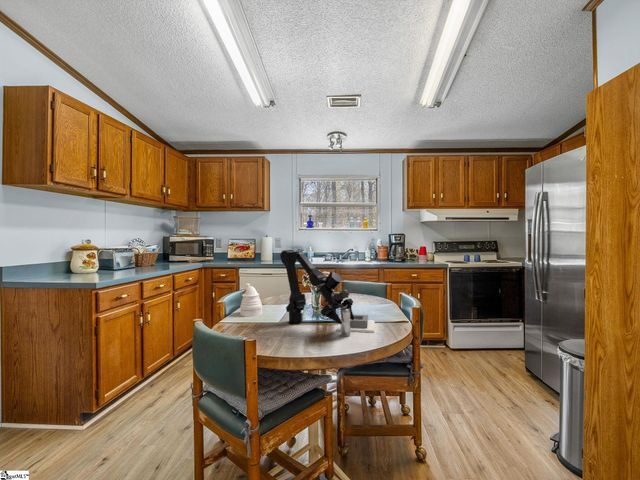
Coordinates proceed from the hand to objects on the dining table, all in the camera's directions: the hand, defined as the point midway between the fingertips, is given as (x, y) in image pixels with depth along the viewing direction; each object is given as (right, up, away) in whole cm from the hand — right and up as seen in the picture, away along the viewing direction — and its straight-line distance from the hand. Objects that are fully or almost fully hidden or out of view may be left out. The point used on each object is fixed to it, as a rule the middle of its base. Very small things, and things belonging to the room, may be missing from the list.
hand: (347, 321), depth 151 cm
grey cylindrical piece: (-1, -7, +1) cm, 7 cm away
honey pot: (-54, -6, +44) cm, 70 cm away
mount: (+6, -6, +15) cm, 17 cm away
